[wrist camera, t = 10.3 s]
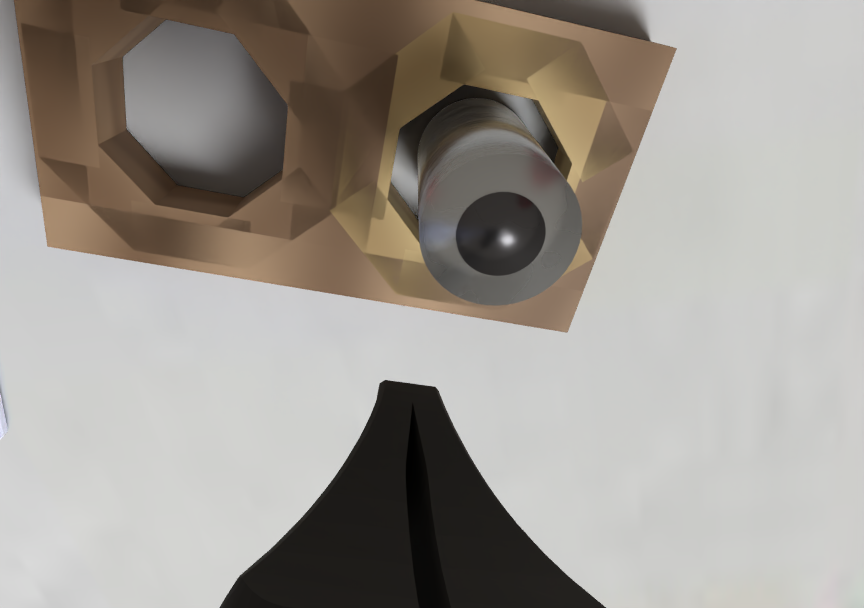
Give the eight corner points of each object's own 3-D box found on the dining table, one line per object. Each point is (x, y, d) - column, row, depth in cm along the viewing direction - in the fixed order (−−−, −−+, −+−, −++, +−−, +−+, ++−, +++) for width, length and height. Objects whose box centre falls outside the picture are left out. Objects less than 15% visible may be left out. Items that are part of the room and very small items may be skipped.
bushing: (411, 205, 21) (411, 298, 15) (424, 90, 19) (429, 144, 13) (518, 216, 21) (561, 313, 15) (541, 105, 19) (601, 164, 13)
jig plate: (78, 224, 21) (47, 246, 19) (43, -103, 16) (-2, -113, 14) (555, 305, 23) (567, 332, 21) (651, 41, 18) (676, 48, 17)
